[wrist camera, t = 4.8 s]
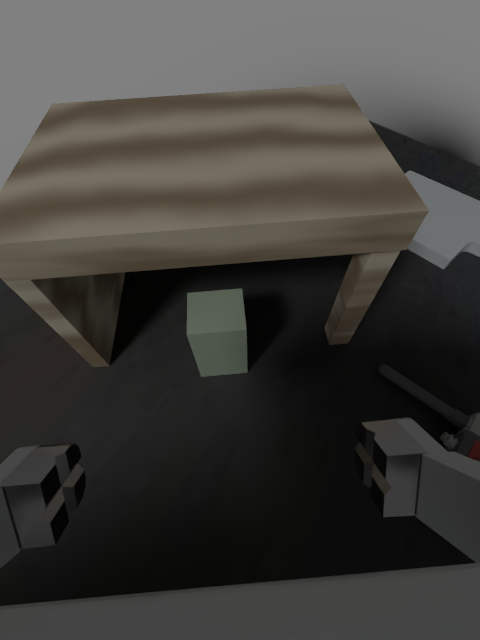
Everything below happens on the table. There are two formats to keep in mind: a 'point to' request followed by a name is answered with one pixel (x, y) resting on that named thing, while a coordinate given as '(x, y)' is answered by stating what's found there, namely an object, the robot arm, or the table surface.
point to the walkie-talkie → (474, 431)
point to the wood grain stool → (199, 200)
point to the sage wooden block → (217, 331)
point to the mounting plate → (445, 222)
